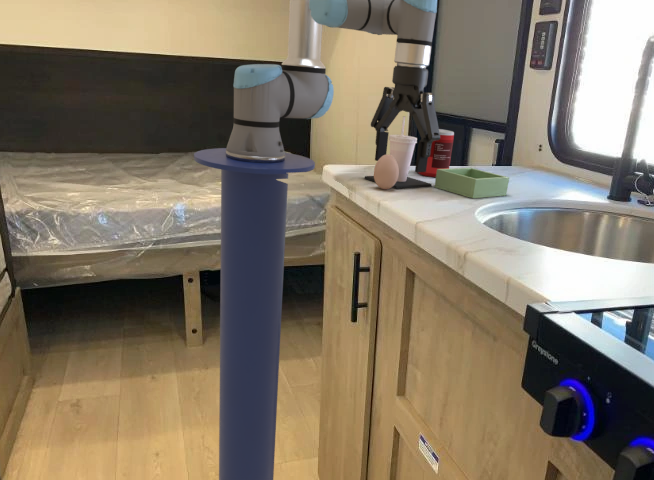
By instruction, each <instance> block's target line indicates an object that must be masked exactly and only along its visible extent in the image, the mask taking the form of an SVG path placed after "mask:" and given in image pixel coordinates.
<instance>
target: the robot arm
mask: <svg viewBox="0 0 654 480" xmlns="http://www.w3.org/2000/svg"><path fill="white" fill-rule="evenodd" d="M288 8H289V10H288V14H289V15H288V35H287V37H288V42H287V57H286V59H284V61H282V62H281V65H280V64H274V63H263V64H262V63H257V64H255V63H254V64H253V63H252V64H243V65H239V66H238V67H237V68H236V69H235V71H234V76H233V77H234V78H233V84H232V85H233V127H232V130H231V133H230V135H229V139H228V142H227V145H226V147H225V148H226V157H228V158H230V159H233V160H238V161H244V162H252V163H279V162H283V161H285V153H286V152H285V147H284V144H283V141H282V137H281V132H280V121H281V120H280V119H303V120H310V119H320V118H321V117H324V116H325V115H326V113H327V112H328V111H329V110H330V108H331V106H332V103H333V100H334V92H335V91H334V89H335V88H334V84H333V83H332V82H333V81H332V79H331V78H330V77H329V76H328V75H327V74H326V71H327V68H326V66H325V64H324V63H323V62H322V60H321V57H322V56H321V54H322V38H323V37H322V36H323V26H326V27H328V28H333V29H334V28H336V29H337V28H338V29H346V30H352V31H359V32H365V33H368V34H372V35H377V36H382V35H386V36H387V35H388V36H390V35H392V36H393V35H394V36H396V44H395V51H394V60H393V61H394V63H395V64H396V65H395V66H394V67H393V71H392V78H391V79H392V80H391V82H392V84H393V85H394V87H393V86H384V87H383V91H382V96H381V99H380V100H379V103H378V106H377V108H376V110H375V113H374V115H373V117H372V119H371V122H370V127H371V128H374V129H375V131H376V132H375V133H376V134H375V155H374V161H376V162H377V161H378V160H379V159H380V158H381V157H382V156H383V155H386V154H387V152H388V151H387V150H388V144H389V143H388V142H389V135H390V134H389V130H388V128H389V127H390V126H391V124H392V123H394V121H395V119H396V118H397V116H398V115H399V114H400V113H401V112H406V113H409V114H410V115H411V116H412V118H413V121H414V123H415V126H416V128H417V131H418V133H419V136H420V139H419V141H418V142H417V144H418V145H417V150H416V152H417V153H416V159H415V160H416V161H415V168H414V172H415V173H418V172H426V168H427V161H428V157H429V156H430V152H431V145H432V142H433V141H436V140H440V132H439V129H440V127H439V123H438V118H437V117H438V116H437V112H436V109H435V98H436V97H435V93H433V92H424V88H426V87H427V85H428V78H429V69H427V67H429V66H430V61H431V54H432V46H433V37H434V31H435V30H434V29H435V22H436V18H437V13H438V0H289V7H288Z"/></svg>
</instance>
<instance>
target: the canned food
mask: <svg viewBox="0 0 654 480" xmlns="http://www.w3.org/2000/svg"><path fill="white" fill-rule="evenodd" d="M439 132H440V140H436V141H433V142H432V145H431V152H430V156H429V157H428V161H427V168H426V172H417V173H418V175H421V176H425V177H429V178H436V173H437V169H450V164H451V158H452V153H453V152H452V151H453V147H454V146H453V145H454V137H455V132H454V131H453V130H448V129H442V128H439Z"/></svg>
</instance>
